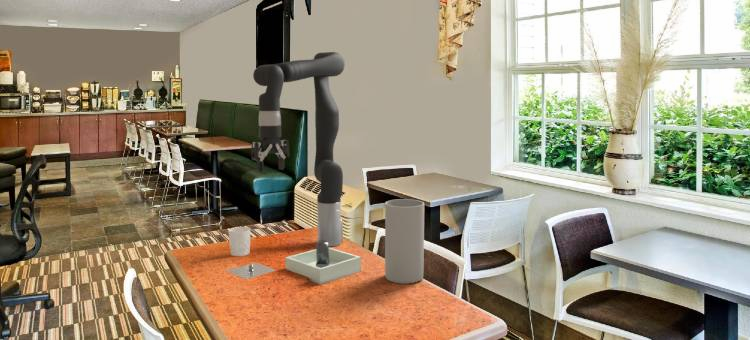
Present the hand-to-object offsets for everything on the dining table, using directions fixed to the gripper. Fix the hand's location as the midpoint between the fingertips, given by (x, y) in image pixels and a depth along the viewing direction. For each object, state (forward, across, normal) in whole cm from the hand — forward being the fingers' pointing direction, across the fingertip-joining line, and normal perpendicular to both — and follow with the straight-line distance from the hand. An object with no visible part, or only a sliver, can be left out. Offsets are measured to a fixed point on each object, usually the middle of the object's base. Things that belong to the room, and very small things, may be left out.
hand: (271, 170), depth 187 cm
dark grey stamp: (+32, -6, +20) cm, 38 cm away
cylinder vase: (+33, -20, +44) cm, 59 cm away
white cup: (+33, +4, -16) cm, 37 cm away
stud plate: (+33, +12, +4) cm, 35 cm away
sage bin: (+33, -6, +20) cm, 39 cm away
